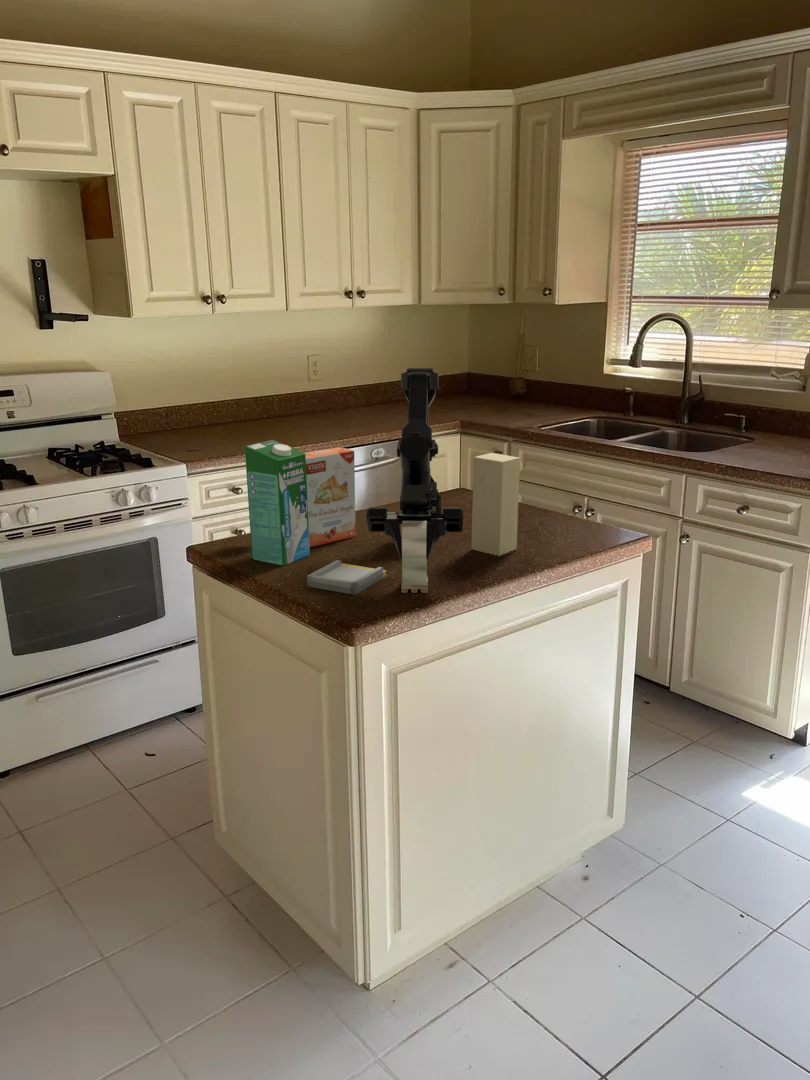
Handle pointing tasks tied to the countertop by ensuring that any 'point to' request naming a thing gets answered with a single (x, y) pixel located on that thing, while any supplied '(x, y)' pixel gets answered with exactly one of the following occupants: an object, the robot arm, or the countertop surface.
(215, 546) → the countertop surface
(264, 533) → the milk carton
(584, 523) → the countertop surface
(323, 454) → the cracker box
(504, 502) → the tall cream block
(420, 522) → the pale banded rectangular block
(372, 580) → the pad
